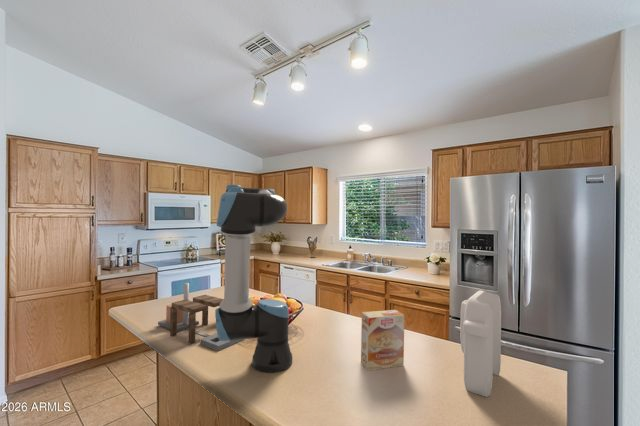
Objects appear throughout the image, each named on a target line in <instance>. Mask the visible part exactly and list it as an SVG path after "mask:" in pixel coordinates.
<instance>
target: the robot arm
mask: <svg viewBox="0 0 640 426" xmlns="http://www.w3.org/2000/svg"><path fill="white" fill-rule="evenodd" d="M220 196H221V197H220V198H219V199H220V200H219V205H218V211H217V219H216V226H217V227H218V228H220V232H221V234H223V236H224V237H223V238H224V245H225V246H224V285H223V288H224V293H223V299H224V300H223V301H222V302H221V303H220V306H219V307H216V308H215V311H214V313H215V314H214V315H215V316H214V317H215V326H216V333H217V335H218V338H219V340H221V341H233V340H242V339H244V340H250V339H257V340H256V341H257V342H256V347H255V349H254V353H253V355H252V358H251V359H252V360H251V361H252V362H251V364H252V367H253V369H255V370H256V371H259V372H263V373H278V372H282V371H284V370H287V369H288V368H290V367H291V366H292V364H293V353H292V351H291V348H290V344H289V319H290V313H289V306H288V304H286V303H285V302H284V301H282V300H278V299H270V298H265V299H259V300H258V301H257V304H255V305H253V300H252V299H250V298H249V297H250V293H249V292H250V270H251V269H250V267H251V266H250V264H251V240H252V239H251V237H253V235H254V234H255V233H256V228H257V227H270V226H273V225H275V224H277V223H279V222H280V221H282V220H283V219H284V218H285V216H286V215H287V211H288V204H287V201H286V200H285V199H284V198H283V197H282V196H281V195H279V194H277V193H276V192H275V189H273V188H257V187H256V188H253V187H242V185H239V184H226V186H225V192H224V193H222V194H221V195H220ZM242 341H243V340H242Z"/></svg>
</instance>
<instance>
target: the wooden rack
mask: <svg viewBox="0 0 640 426" xmlns="http://www.w3.org/2000/svg"><path fill="white" fill-rule="evenodd" d="M223 300H224V298H220V297H216V296H212V295H207V294H202V295H197V296H195V297H192V300H190V299H189V300H183V299H182V300H178V301H173V302H171V304H172V307H171V308H170V329H169V330H170V331H169V337H176V336H177V309H179V310H182V311H185V312H189V328H187V329H184V330H186V331H188V343H187V344H190V345H192V344H195V343H196V335H200V336H202V337H204V338H205V337H208V336H210V335H211V334H208V333H205V332H203V331H201V330H197V329H196V327H197V325H196V321H197V320H196V318H197V316H196V314H197V313H200V312H201V325H202V326H204V327H206V326H208V324H209V307H211V308H218V307H220V303H221V302H222V301H223Z"/></svg>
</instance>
